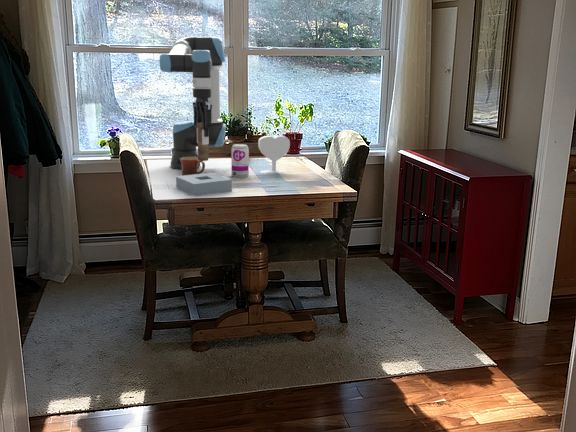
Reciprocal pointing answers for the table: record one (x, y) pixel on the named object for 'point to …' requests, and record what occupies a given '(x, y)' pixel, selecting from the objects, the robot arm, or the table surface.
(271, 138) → the heart sculpture
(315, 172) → the table surface
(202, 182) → the socket block
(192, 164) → the mug
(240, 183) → the table surface
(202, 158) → the walnut peg
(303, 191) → the table surface
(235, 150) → the supplement can
